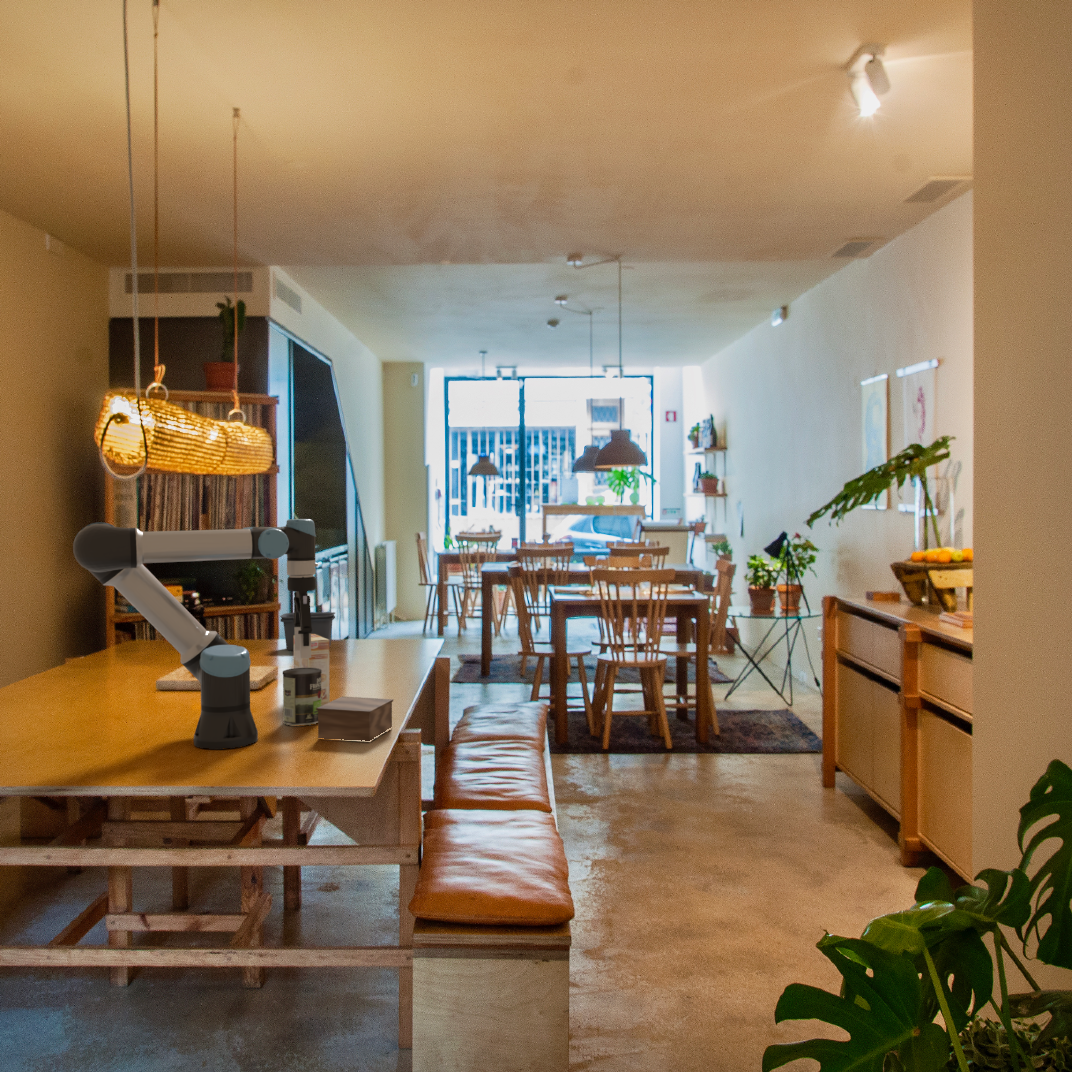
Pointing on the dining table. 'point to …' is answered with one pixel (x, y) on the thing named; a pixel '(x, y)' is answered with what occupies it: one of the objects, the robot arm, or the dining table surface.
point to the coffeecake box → (317, 663)
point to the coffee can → (301, 695)
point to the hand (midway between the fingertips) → (302, 654)
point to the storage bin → (319, 624)
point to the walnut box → (354, 718)
